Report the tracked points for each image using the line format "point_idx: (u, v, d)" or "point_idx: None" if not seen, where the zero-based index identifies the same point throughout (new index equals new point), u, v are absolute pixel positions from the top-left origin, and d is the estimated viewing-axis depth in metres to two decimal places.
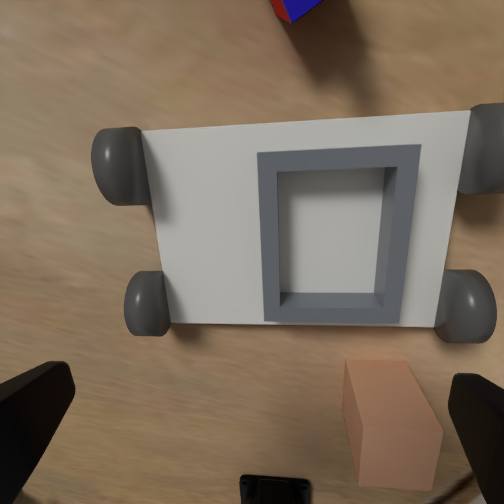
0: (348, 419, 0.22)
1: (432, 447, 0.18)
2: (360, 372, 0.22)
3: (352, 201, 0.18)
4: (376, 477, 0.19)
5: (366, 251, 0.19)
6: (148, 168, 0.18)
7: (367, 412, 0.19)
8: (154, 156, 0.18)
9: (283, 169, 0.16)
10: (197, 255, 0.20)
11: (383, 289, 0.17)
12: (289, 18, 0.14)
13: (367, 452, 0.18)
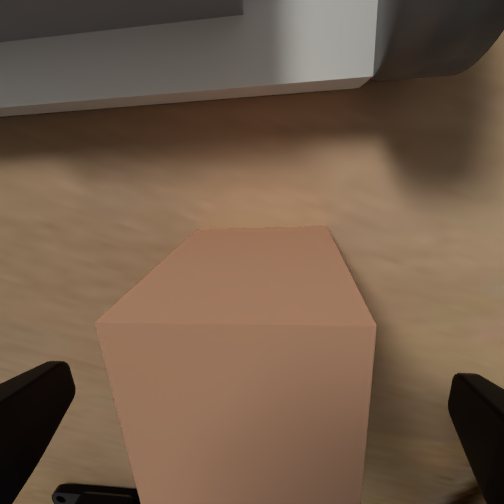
0: None
1: (342, 394, 0.05)
2: (211, 240, 0.09)
3: None
4: (188, 499, 0.06)
5: None
6: None
7: (150, 292, 0.06)
8: None
9: None
10: None
11: None
12: None
13: (137, 418, 0.06)
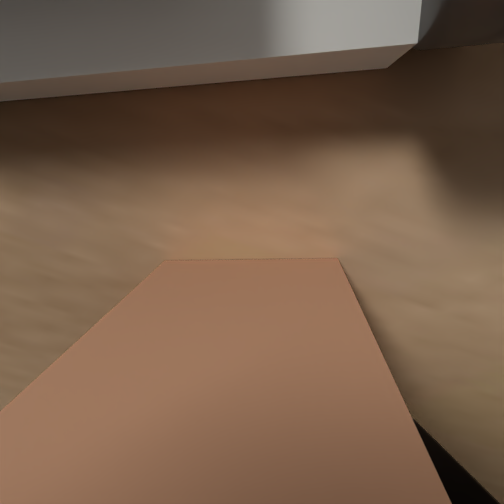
0: None
1: None
2: (177, 282, 0.06)
3: None
4: None
5: None
6: None
7: (29, 423, 0.03)
8: None
9: None
10: None
11: None
12: None
13: None
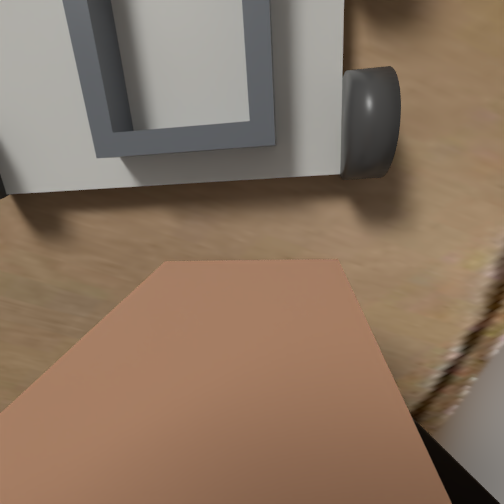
0: None
1: None
2: (177, 284, 0.06)
3: None
4: None
5: (235, 57, 0.13)
6: None
7: (30, 424, 0.03)
8: None
9: None
10: (20, 85, 0.15)
11: (248, 91, 0.12)
12: None
13: None
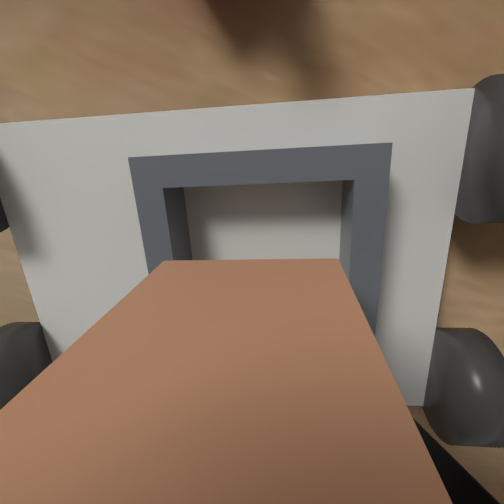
0: None
1: None
2: (176, 283, 0.06)
3: (296, 229, 0.12)
4: None
5: None
6: None
7: (26, 425, 0.03)
8: (3, 163, 0.12)
9: (172, 184, 0.10)
10: (85, 303, 0.14)
11: None
12: None
13: None
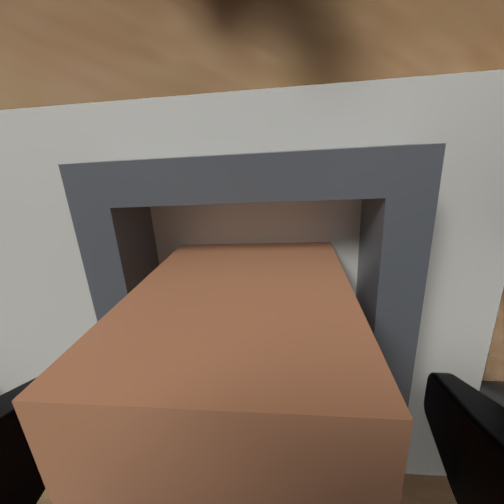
0: None
1: (359, 503, 0.03)
2: (195, 260, 0.08)
3: None
4: None
5: None
6: None
7: (102, 345, 0.04)
8: None
9: (123, 202, 0.07)
10: (31, 346, 0.11)
11: None
12: None
13: None
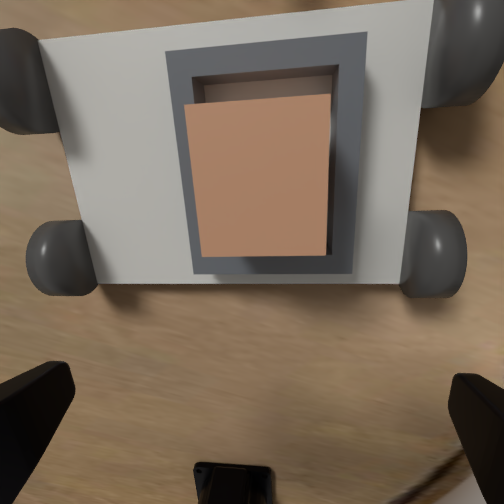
0: None
1: (314, 141, 0.09)
2: None
3: None
4: (228, 232, 0.11)
5: None
6: (51, 89, 0.15)
7: None
8: (57, 73, 0.15)
9: (199, 73, 0.13)
10: (120, 200, 0.17)
11: (332, 231, 0.14)
12: None
13: (202, 171, 0.10)
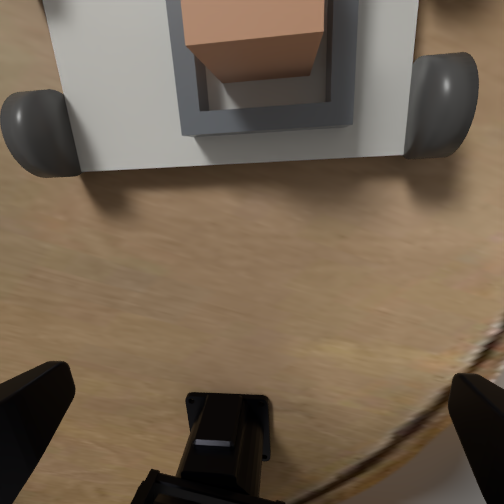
0: None
1: None
2: None
3: None
4: (214, 8, 0.09)
5: None
6: None
7: None
8: None
9: None
10: (104, 67, 0.16)
11: (330, 74, 0.13)
12: None
13: None
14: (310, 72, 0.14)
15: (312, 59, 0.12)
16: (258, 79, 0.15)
